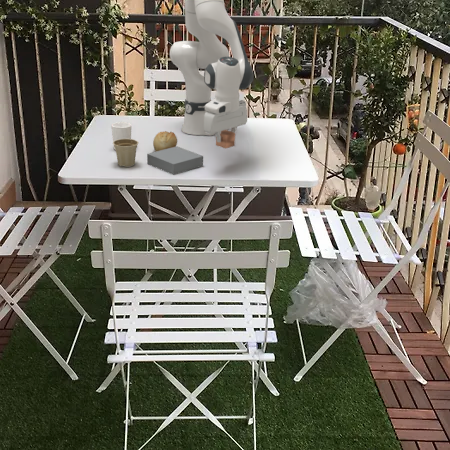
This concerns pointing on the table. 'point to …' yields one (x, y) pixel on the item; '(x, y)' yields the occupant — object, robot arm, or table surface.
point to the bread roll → (164, 141)
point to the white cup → (121, 131)
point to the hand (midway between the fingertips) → (225, 139)
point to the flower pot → (125, 151)
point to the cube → (226, 139)
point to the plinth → (175, 160)
